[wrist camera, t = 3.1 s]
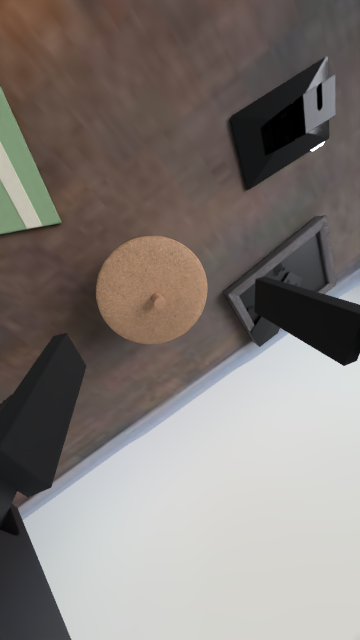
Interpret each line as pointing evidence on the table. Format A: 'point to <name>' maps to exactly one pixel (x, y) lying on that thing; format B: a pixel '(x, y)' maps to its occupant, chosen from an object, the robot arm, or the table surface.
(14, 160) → the towel
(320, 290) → the picture frame
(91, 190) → the table surface
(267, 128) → the black mounting bracket
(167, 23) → the table surface
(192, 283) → the trinket box
